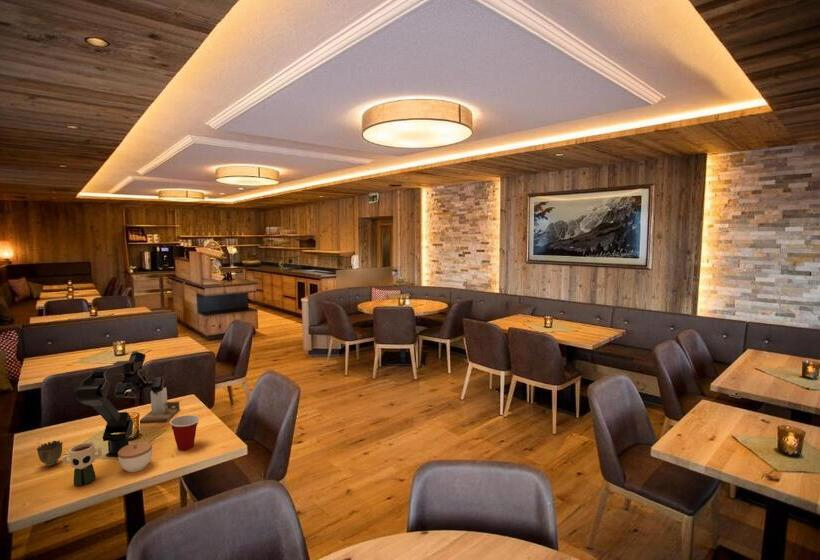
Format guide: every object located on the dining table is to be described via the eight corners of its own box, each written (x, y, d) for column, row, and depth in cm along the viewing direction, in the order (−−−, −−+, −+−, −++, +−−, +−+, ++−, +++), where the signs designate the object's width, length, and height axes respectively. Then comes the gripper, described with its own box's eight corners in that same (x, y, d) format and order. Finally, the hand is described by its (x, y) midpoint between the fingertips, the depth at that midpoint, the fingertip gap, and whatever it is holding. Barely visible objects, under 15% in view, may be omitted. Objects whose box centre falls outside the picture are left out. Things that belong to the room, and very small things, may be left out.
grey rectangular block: (163, 415, 200) (161, 391, 199) (152, 416, 200) (150, 391, 198) (168, 411, 205) (166, 387, 204) (157, 411, 205) (155, 388, 203)
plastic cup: (198, 451, 169) (196, 423, 168) (168, 455, 166) (166, 426, 165) (203, 439, 180) (201, 412, 179) (175, 442, 177) (173, 415, 175)
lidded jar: (129, 461, 162) (127, 438, 161) (158, 459, 163) (156, 436, 163) (113, 477, 152) (110, 452, 151) (144, 475, 153) (142, 450, 152)
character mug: (63, 491, 143) (59, 455, 142) (67, 481, 149) (64, 446, 148) (102, 482, 148) (99, 447, 147) (105, 472, 155) (102, 439, 153)
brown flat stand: (166, 422, 196) (165, 412, 196) (139, 423, 195) (138, 413, 195) (179, 410, 210) (179, 400, 210) (154, 411, 209) (153, 401, 208)
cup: (34, 467, 158) (32, 447, 157) (56, 458, 165) (55, 438, 164) (46, 471, 155) (44, 451, 154) (68, 462, 162) (66, 442, 161)
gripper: (160, 360, 190) (171, 376, 201) (113, 365, 185) (127, 382, 197) (156, 382, 183) (167, 398, 194) (108, 388, 178) (122, 404, 190)
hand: (146, 395), depth 194 cm, fingers open, 9 cm apart
